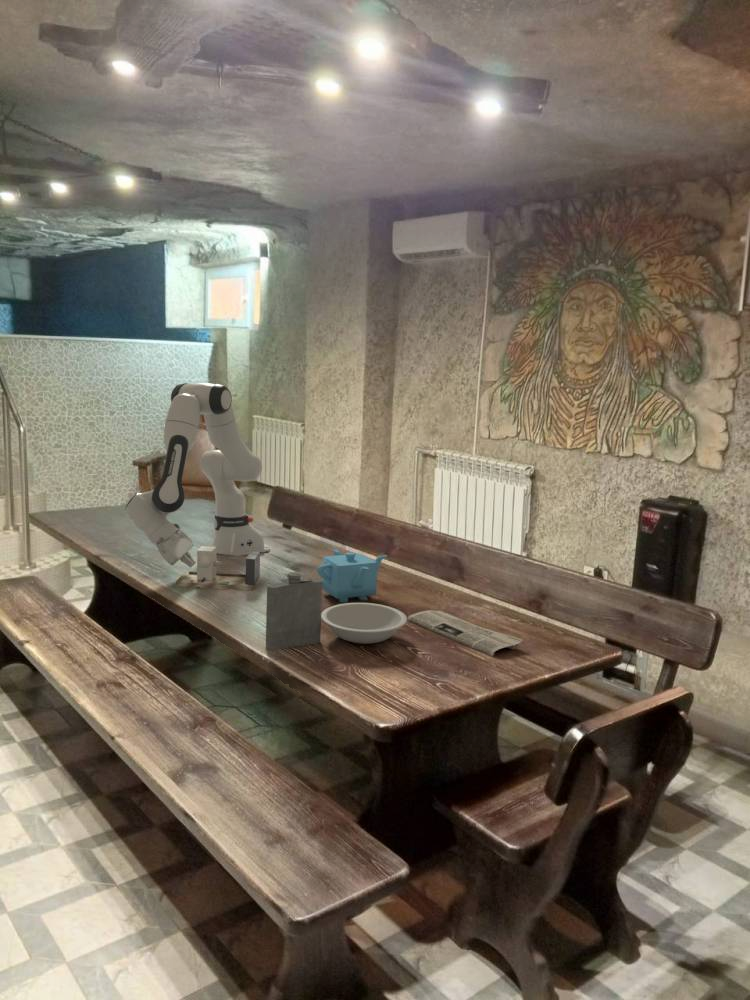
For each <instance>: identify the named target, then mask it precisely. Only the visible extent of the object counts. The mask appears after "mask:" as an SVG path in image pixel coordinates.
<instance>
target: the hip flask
mask: <svg viewBox="0 0 750 1000" xmlns="http://www.w3.org/2000/svg"><path fill="white" fill-rule="evenodd" d="M286 577H287V578H288V580H287V581H281V582H276V583H270V584H267V585H266V614H265V615H266V617H265V618H266V620H265V650H266V651H268V652H275V651H279V650H283V649H286V648H292V647H299V646H306V645H315V644H320V643H321V631H322V628H321V627H322V626H321V625H322V619H321V614H322V601H323V600H322V599H323V589H322V578H302V574H301V572H298V571H290V572H287V576H286Z"/></svg>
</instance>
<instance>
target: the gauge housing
mask: <svg viewBox="0 0 750 1000" xmlns="http://www.w3.org/2000/svg"><path fill="white" fill-rule="evenodd" d="M221 564H222V561H218V560H217V553H216V547H212V546H208V545H207V546H206V545H204V546H203V545H201V546H200V547H199V548H198V549H197V550H196V572H197V580H202V582H204V581H205V580H211V581H212V580H213V579H214V577H215V576H216V573H217V567H221Z"/></svg>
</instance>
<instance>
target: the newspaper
mask: <svg viewBox="0 0 750 1000" xmlns="http://www.w3.org/2000/svg"><path fill="white" fill-rule="evenodd" d="M407 622H409V623H413V624H415V625H417V626H419V627H422V628H424V629H427V630H429V631H431V632H434V633H437V634H438V635H441V636H443V637H446V638H448V639H451V640H453V641H455V642H457V643H460V644H462V645H464V646H466V647H470V649H471V648H472V649H474V650H476V651H478V652H480V653H484V654H486V655H488V656H491V657H494V656H495V655H497V653H495V652H496V651H499V650H501V649H504V648H508V649H509V650H510V649H511V650H516V649H517V647H518V645H519V644H521V642H523V640H524V639H522V638H519V637H515V636H513V635H509V634H506V633H502V632H498V631H495V630H493V629H492V630H491V629H489V628H485V627H481V626H479V625H476V624H473V623H472V622H469V621H467V620H464V619H461V618H460V617H457V616H455V615H452V614H450V613H447V612H445V611H442V610H433V609H429V610H423V611H418V612H416V613H413V614H410V615H408V616H407Z"/></svg>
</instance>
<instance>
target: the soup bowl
mask: <svg viewBox="0 0 750 1000" xmlns="http://www.w3.org/2000/svg"><path fill="white" fill-rule="evenodd" d="M407 618H408V616H407V615H406V613H404V612H402V611H401V610H399V609H397V608H394V607H392V606H387V605H384V604H380V603H379V604H378V603H373V602H372V603H371V602H346V603H338V604H336V605H332V606H329V607H327V608H325V609H324V610H323V611H321V621H322V622H323V623H325V624H326V625H327V626H328V627H329V629H330V631H332V632H333V634H335V635H336V636H337V637H339V638H340V639H343V640H344V641H347V642H351V643H354V644H355V643H356V644H365V645H366V644H375V643H381V642H383V641H386V640H388V639H391V637H393V636H394V635H395V634H396V633H397V632H398V631H399V629H400V628H403V627H404V626H406V624H407V623H408V621H407Z"/></svg>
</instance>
